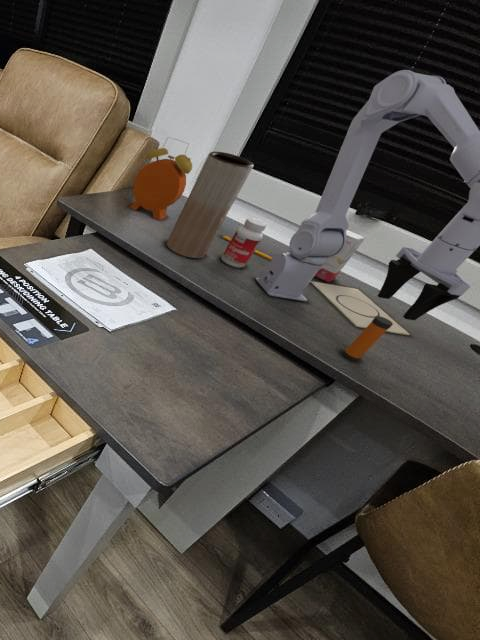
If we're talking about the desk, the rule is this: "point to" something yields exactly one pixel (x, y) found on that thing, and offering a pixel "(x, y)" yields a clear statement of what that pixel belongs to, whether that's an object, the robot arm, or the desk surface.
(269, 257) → the pencil
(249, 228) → the pill bottle
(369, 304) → the paper
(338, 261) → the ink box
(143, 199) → the alarm clock
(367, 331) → the marker
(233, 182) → the planter
